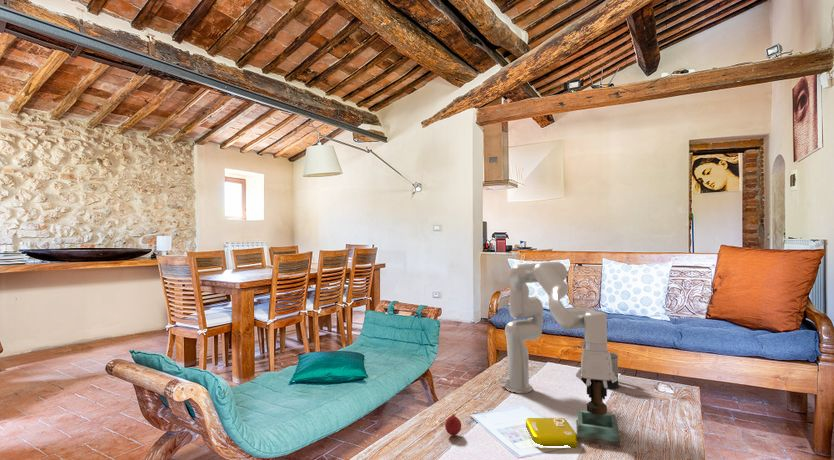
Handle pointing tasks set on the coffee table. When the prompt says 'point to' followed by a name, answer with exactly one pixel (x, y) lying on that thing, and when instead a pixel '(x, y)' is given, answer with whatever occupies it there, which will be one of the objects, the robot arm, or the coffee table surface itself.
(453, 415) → the onion
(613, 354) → the milk frother
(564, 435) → the element tile
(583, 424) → the green square tray
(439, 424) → the coffee table surface
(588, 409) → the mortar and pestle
